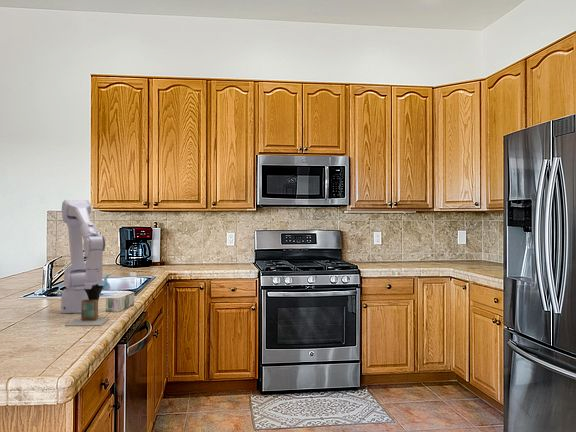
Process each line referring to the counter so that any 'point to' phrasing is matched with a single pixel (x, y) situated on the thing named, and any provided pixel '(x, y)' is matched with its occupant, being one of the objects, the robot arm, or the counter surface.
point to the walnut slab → (89, 310)
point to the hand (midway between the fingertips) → (93, 306)
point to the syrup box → (119, 301)
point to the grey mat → (87, 322)
